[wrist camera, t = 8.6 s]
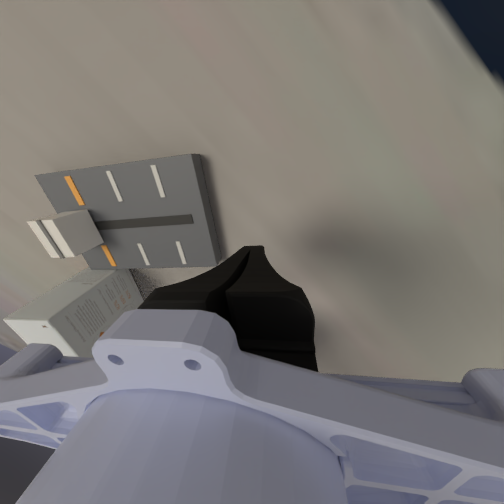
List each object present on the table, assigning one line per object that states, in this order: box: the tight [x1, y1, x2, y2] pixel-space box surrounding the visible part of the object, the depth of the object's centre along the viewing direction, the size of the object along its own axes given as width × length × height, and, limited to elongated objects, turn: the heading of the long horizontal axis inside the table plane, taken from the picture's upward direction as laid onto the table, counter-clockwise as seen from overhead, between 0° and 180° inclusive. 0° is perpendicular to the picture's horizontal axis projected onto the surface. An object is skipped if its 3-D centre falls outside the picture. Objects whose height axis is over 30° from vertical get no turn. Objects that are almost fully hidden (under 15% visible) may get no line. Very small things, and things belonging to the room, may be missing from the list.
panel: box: [35, 154, 221, 270], centre depth 22 cm, size 12×18×2 cm, turn 96°
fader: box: [27, 210, 104, 258], centre depth 20 cm, size 4×3×4 cm
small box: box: [3, 267, 144, 358], centre depth 24 cm, size 8×6×10 cm
